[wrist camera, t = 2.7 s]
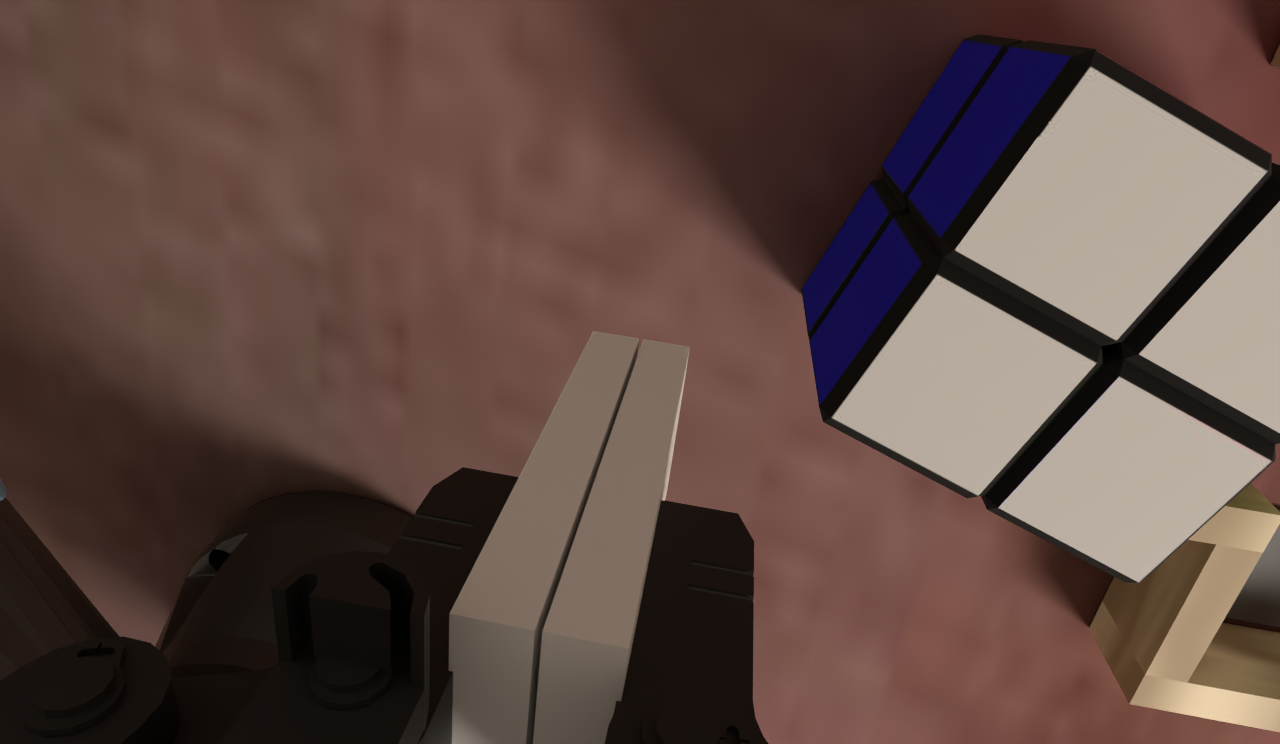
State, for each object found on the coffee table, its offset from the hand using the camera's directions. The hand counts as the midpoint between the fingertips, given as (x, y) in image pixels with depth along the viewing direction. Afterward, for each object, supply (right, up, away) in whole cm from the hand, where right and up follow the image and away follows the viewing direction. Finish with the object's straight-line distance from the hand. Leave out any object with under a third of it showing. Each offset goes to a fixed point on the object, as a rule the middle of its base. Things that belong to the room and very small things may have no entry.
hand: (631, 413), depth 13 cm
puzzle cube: (+13, +5, +14) cm, 20 cm away
